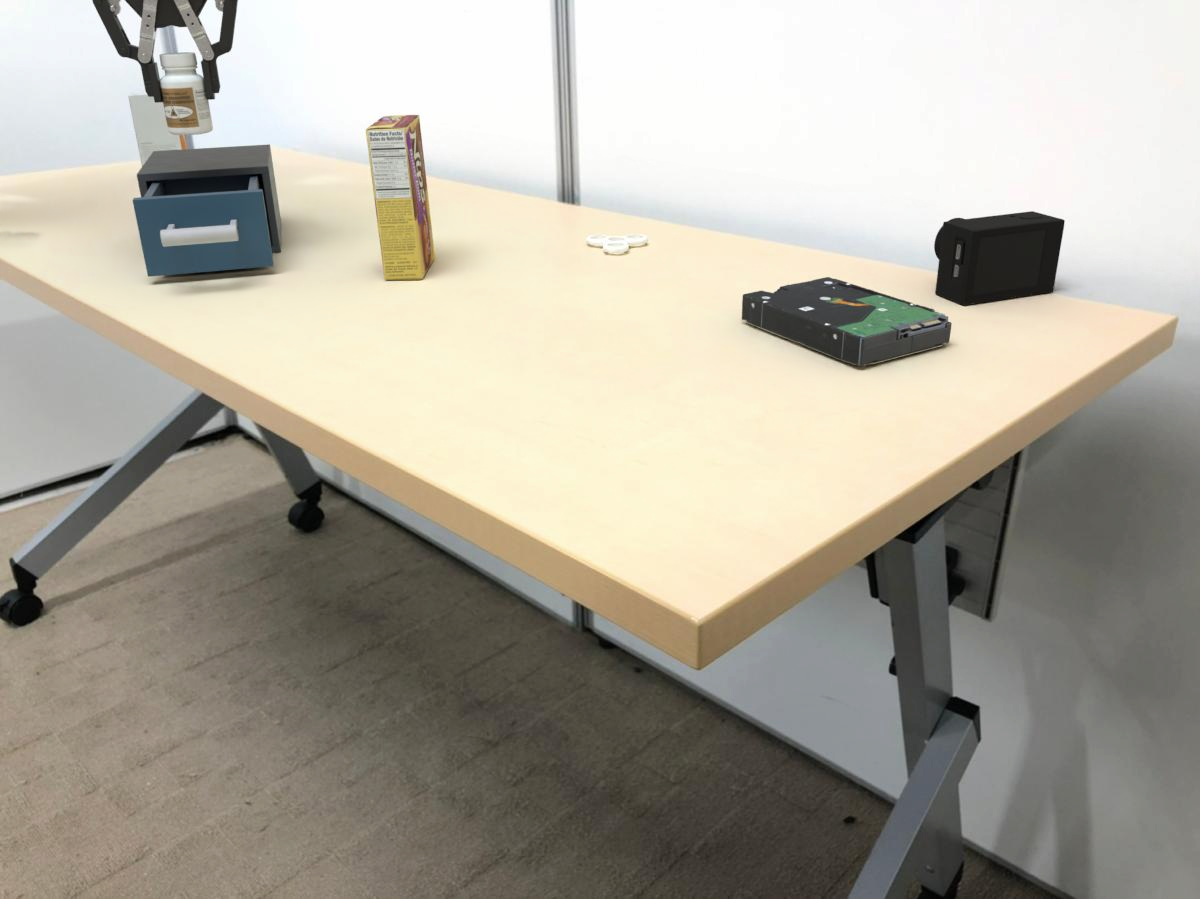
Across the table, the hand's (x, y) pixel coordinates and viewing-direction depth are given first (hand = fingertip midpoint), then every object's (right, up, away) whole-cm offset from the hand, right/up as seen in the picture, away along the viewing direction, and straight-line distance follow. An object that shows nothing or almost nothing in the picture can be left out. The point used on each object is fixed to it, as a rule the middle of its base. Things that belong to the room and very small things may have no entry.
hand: (185, 99), depth 109 cm
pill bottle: (0, -3, +1) cm, 4 cm away
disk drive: (+63, -26, -19) cm, 71 cm away
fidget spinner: (+45, -13, +11) cm, 48 cm away
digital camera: (+80, -21, -8) cm, 83 cm away
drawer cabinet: (-2, -11, +17) cm, 21 cm away
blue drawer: (+1, -16, +5) cm, 16 cm away
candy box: (+22, -17, +4) cm, 28 cm away
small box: (-24, +6, +56) cm, 61 cm away
